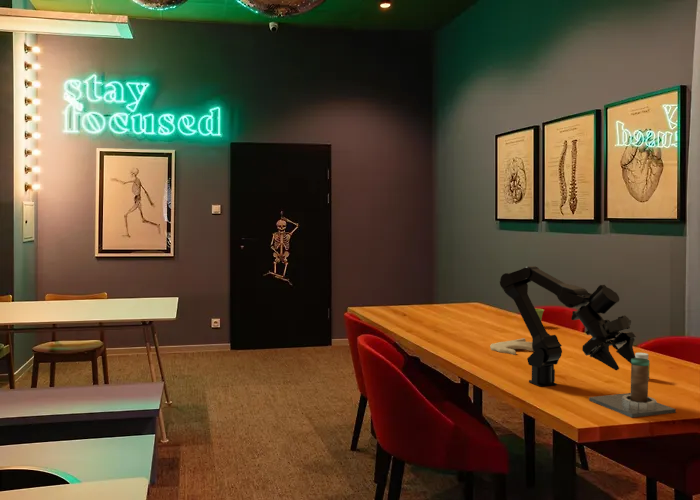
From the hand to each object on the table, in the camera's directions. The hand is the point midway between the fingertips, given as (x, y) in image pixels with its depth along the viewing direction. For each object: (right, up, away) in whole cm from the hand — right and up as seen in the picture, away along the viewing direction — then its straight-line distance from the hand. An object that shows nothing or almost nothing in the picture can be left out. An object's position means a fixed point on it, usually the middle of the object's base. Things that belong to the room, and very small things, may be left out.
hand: (627, 367), depth 182 cm
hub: (+1, -11, 0) cm, 11 cm away
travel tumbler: (+2, -10, -3) cm, 11 cm away
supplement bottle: (+19, -10, +33) cm, 39 cm away
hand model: (-11, -8, +78) cm, 79 cm away
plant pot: (+12, -5, +136) cm, 136 cm away
